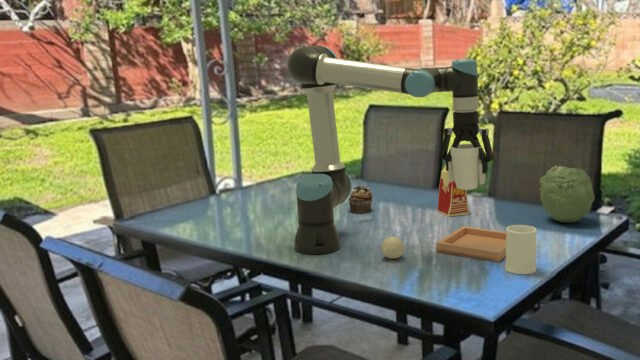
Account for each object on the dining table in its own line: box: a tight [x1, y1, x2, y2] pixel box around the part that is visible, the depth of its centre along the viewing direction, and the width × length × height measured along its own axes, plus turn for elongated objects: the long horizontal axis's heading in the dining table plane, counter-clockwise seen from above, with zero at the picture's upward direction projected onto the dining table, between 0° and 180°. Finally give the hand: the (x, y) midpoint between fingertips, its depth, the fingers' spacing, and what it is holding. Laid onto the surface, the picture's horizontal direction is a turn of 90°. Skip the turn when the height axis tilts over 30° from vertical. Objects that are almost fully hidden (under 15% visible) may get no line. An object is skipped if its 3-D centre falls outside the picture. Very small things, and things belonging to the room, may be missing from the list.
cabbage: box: [538, 165, 595, 224], centre depth 218 cm, size 16×19×20 cm
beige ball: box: [380, 236, 405, 260], centre depth 192 cm, size 7×7×7 cm
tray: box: [436, 226, 506, 263], centre depth 198 cm, size 20×20×3 cm
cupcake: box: [347, 185, 374, 214], centre depth 247 cm, size 10×10×10 cm
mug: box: [504, 224, 537, 275], centre depth 178 cm, size 12×8×12 cm
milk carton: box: [437, 163, 470, 218], centre depth 237 cm, size 9×9×20 cm
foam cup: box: [449, 143, 483, 191], centre depth 195 cm, size 10×9×13 cm
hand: (466, 182), depth 196 cm, fingers closed on foam cup, 9 cm apart
